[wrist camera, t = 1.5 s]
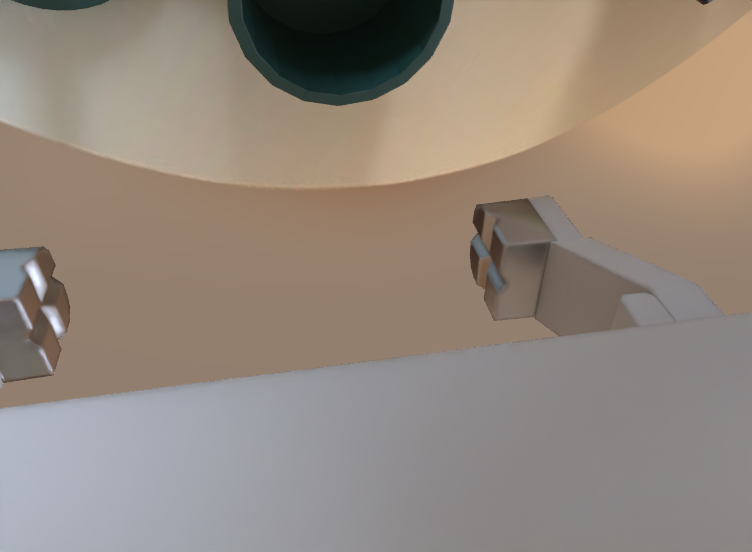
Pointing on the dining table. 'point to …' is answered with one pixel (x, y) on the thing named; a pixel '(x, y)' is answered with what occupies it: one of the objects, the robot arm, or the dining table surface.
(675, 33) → the dining table surface
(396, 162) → the dining table surface
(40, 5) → the lid
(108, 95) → the dining table surface
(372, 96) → the pot
